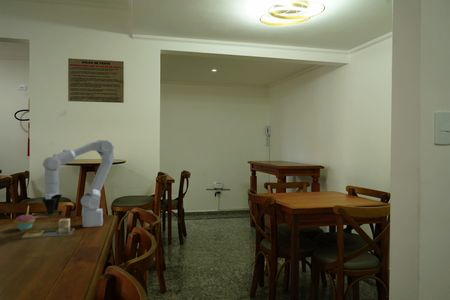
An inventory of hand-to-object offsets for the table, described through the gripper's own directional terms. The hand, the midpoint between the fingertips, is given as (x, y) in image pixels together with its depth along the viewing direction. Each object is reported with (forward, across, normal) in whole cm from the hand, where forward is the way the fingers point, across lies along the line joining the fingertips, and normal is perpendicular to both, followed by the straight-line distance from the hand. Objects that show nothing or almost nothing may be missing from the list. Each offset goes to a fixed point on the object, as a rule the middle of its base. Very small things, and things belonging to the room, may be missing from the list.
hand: (52, 212), depth 149 cm
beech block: (+9, +3, +6) cm, 11 cm away
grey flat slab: (+10, +4, -1) cm, 10 cm away
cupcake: (+10, -11, -15) cm, 21 cm away
